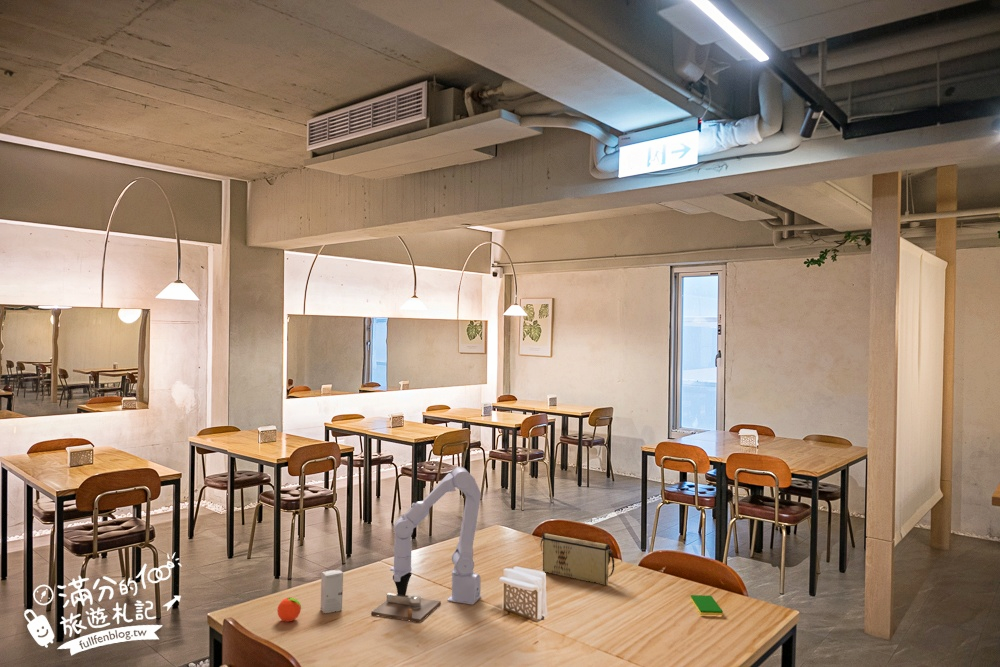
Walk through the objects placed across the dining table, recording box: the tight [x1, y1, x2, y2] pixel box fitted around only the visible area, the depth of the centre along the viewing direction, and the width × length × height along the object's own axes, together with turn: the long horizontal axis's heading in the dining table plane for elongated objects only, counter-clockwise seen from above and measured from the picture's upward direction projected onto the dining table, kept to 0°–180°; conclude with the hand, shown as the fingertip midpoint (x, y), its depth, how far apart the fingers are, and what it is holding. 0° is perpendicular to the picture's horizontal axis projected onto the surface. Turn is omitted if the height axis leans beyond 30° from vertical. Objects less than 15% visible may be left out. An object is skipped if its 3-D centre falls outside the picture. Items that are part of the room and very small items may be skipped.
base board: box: [370, 597, 441, 623], centre depth 217 cm, size 17×16×3 cm
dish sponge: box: [690, 594, 724, 616], centre depth 222 cm, size 7×14×2 cm, turn 178°
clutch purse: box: [540, 532, 615, 586], centre depth 251 cm, size 30×7×15 cm, turn 59°
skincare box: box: [319, 569, 344, 614], centre depth 215 cm, size 6×4×12 cm
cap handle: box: [386, 592, 422, 607], centre depth 218 cm, size 12×4×2 cm, turn 72°
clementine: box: [277, 596, 302, 622], centre depth 206 cm, size 8×7×7 cm
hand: (401, 596), depth 222 cm, fingers closed
